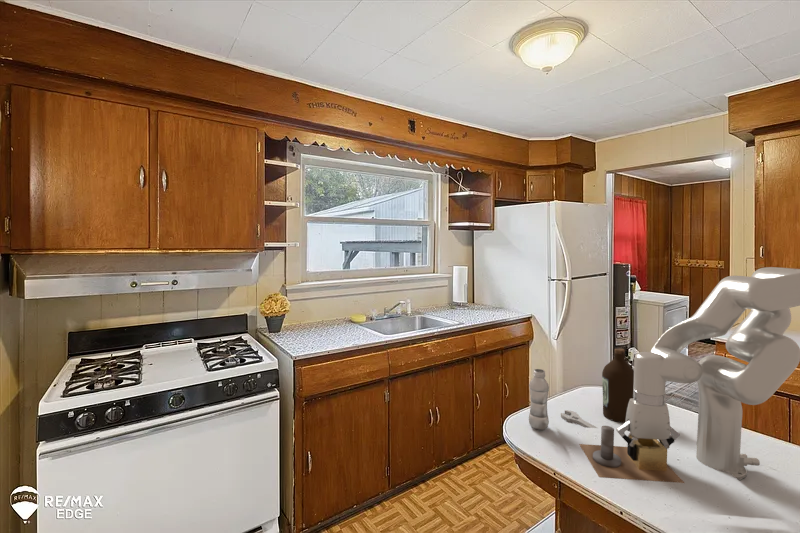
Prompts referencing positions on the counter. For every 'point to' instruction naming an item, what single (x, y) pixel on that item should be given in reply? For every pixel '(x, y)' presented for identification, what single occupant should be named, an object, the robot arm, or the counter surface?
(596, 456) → the shaft board
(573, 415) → the adjustable wrench
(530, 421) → the plastic bottle
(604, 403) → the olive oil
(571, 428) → the counter surface
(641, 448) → the brass collar
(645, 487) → the counter surface
